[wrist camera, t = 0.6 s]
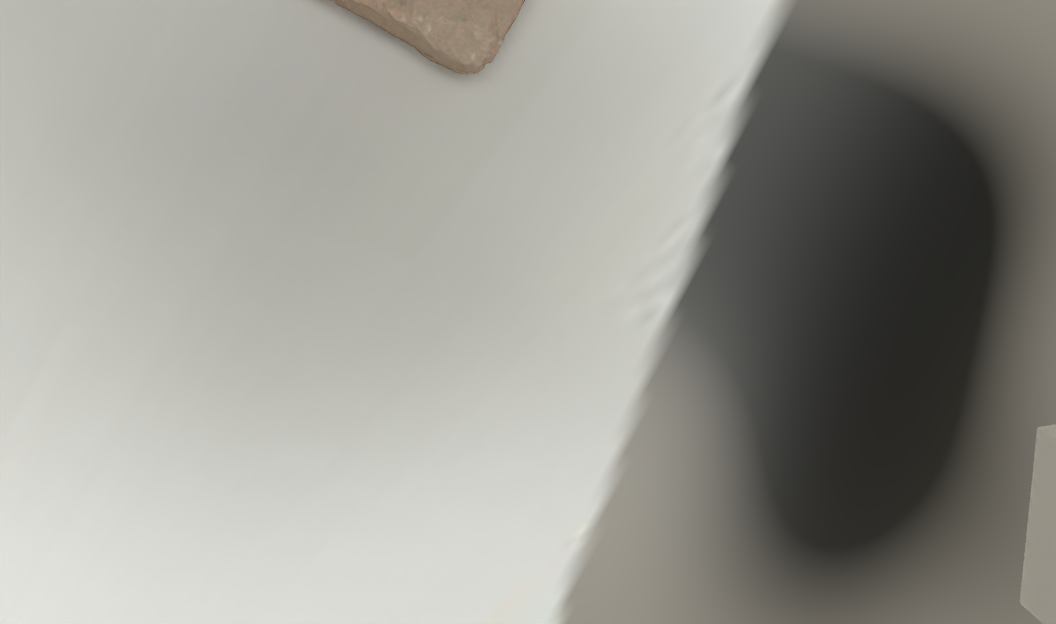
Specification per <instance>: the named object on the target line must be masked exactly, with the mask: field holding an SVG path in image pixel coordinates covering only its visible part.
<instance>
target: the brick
mask: <svg viewBox="0 0 1056 624" xmlns="http://www.w3.org/2000/svg"><path fill="white" fill-rule="evenodd" d="M331 1H333V2H334V3H336V4H337V5H339V6H340V7H342V8H346V9H349V10H351V11H352V12H354V13H355V14H358V15H361V16H363V17H364V18H366V19H368V20H370V21H371V22H373V23H375V24H376V25H377V26H379V27H381V28H382V29H384V30H386V31H388V32H389V33H391V34H393V35H395V36H396V37H398V38H400V39H401V40H403V41H405V42H406V43H408V44H410V45H412V46H414V47H415V48H416V49H417V50H418V51H419V52H420V53H421V54H423V55H424V56H425V57H427V58H428V59H429V60H431V61H433V62H436V63H438V64H441V65H443V66H445V67H446V68H448V69H450V70H452V71H454V72H457V73H463V74H468V73H478V72H479V71H480V70H481V69H482V68H484V65H485V64H487V63H490V62H491V61H492V60H493V58H494V56H495V55H496V53H497V51H498V49H499V47H500V46H501V44H502V42H503V40H504V36H505V34H506V33H507V31H508V30H509V29H510V27H511V25H512V24H513V22H514V20H515V19H516V17H517V15H518V13H519V11H520V8H521V6H522V4H523V3H524V1H525V0H331Z"/></svg>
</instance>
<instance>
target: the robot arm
mask: <svg viewBox="0 0 1056 624" xmlns="http://www.w3.org/2000/svg"><path fill="white" fill-rule="evenodd" d="M1029 507H1030V508H1029V516H1028V526H1027V536H1026V546H1025V557H1024V566H1023V576H1022V586H1021V596H1020V603H1021V604H1022V605H1023V606H1024V607H1025V608H1026V609H1027V610H1028V611H1029V612H1031V613H1032V614H1033V615H1034V616H1035V617H1036V618H1037V619H1038V620H1040V621H1041V622H1042V623H1043V624H1056V425H1050V426H1044V427H1038V428H1037V438H1036V448H1035V457H1034V467H1033V477H1032V487H1031V497H1030V506H1029Z"/></svg>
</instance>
